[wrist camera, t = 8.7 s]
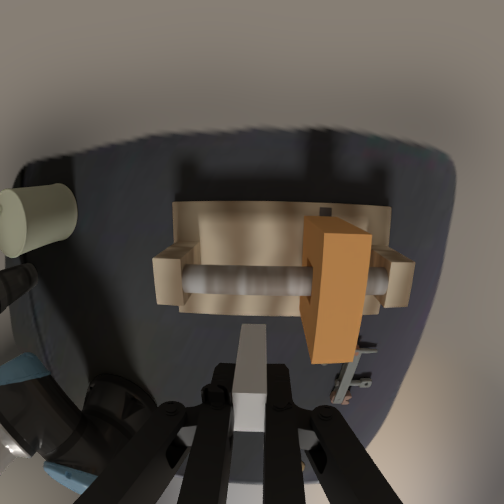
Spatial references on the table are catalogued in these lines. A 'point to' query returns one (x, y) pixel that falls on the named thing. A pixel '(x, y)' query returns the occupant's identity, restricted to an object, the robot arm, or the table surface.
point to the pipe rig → (266, 257)
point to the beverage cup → (16, 283)
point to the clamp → (349, 378)
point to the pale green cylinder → (35, 217)
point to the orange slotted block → (334, 287)
